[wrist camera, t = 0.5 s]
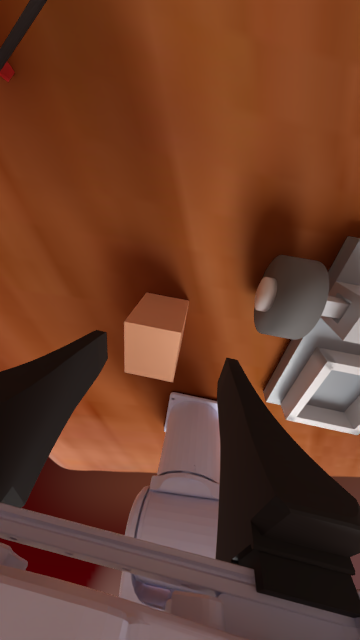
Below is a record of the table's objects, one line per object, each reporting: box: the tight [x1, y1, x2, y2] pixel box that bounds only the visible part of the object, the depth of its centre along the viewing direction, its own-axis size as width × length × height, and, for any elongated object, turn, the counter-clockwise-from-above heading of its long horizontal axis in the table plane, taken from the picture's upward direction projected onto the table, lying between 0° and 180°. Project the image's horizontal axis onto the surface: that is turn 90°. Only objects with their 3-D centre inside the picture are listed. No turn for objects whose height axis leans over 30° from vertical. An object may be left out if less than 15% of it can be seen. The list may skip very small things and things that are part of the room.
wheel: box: [254, 255, 351, 340], centre depth 15 cm, size 6×6×6 cm
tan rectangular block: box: [124, 293, 189, 382], centre depth 19 cm, size 6×4×6 cm
